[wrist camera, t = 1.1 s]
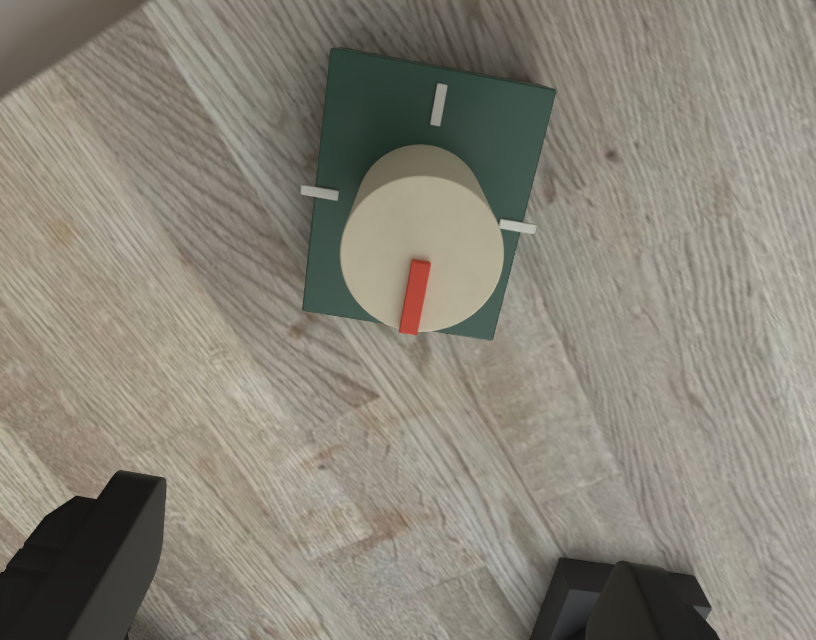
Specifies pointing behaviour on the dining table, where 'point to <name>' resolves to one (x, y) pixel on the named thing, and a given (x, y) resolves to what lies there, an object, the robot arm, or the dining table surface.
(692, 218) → the dining table surface
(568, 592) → the button box
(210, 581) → the dining table surface
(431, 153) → the dial
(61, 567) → the robot arm
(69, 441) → the dining table surface
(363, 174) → the dial panel
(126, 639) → the alarm clock
